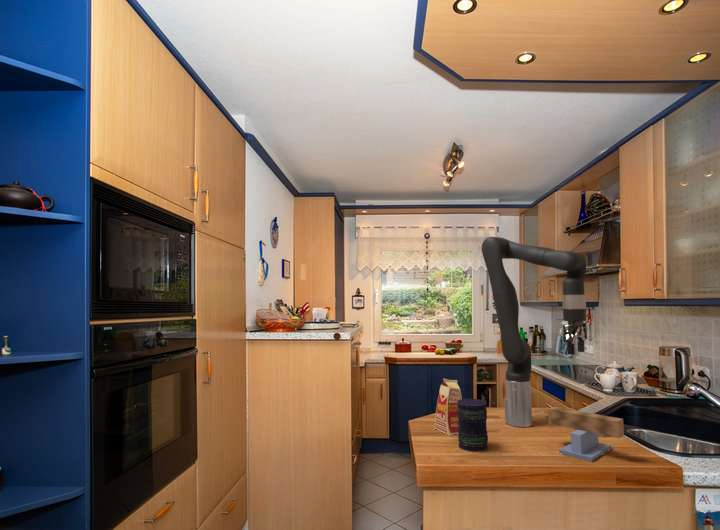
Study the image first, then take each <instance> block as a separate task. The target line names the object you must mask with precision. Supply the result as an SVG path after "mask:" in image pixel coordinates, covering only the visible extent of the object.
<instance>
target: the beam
mask: <svg viewBox="0 0 720 530" xmlns="http://www.w3.org/2000/svg"><path fill="white" fill-rule="evenodd" d="M547 410H548V411H547V413H548V415H547V417H548V424H549V425H554V426H559V427H563V428H569V429H573V430H582V431H587V432H591V433H596V434H601V435H606V436H608V437H610V438H611V437H612V438H615V439H621V438H622V437H624V436H625V428H624V418H620V417H616V416H615V417H614V416H607V415H603V414H597V413H593V412H592V413H590V412H587V411H586V412H585V411H581V410H575V409H569V408H563V407H557V406H551V407H549V408H547Z"/></svg>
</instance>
